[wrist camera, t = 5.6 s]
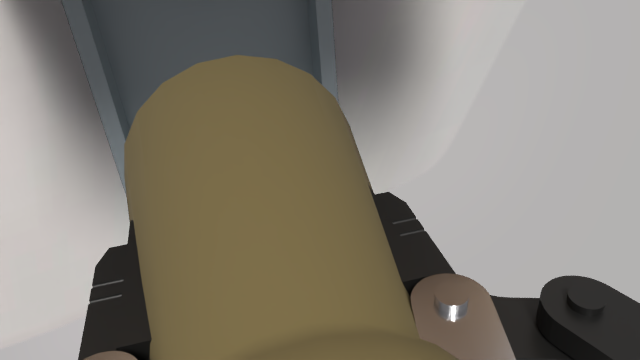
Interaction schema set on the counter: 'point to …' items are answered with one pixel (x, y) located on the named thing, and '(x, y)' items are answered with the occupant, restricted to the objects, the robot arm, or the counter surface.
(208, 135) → the olive pawn figure
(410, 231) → the robot arm
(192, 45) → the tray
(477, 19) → the counter surface
